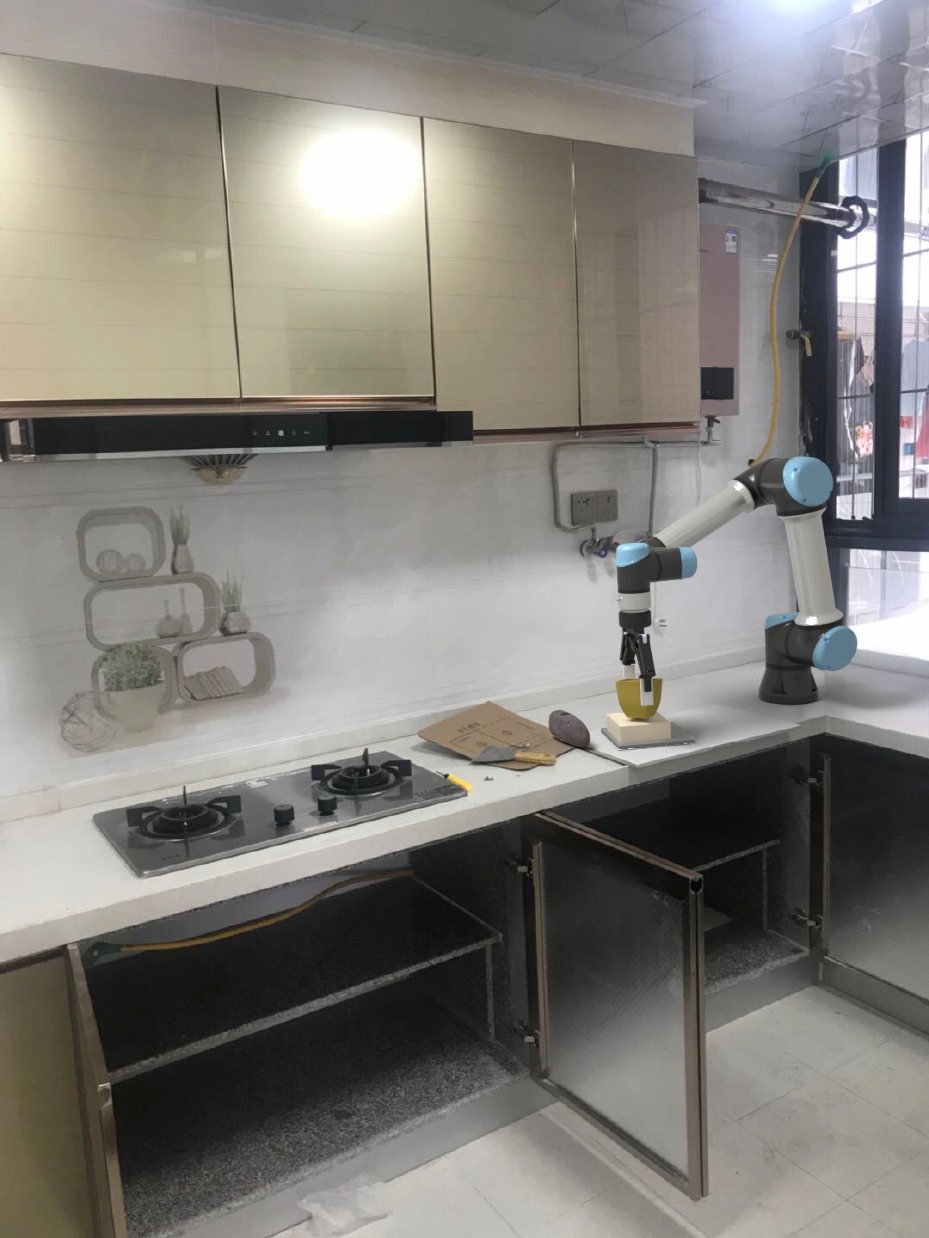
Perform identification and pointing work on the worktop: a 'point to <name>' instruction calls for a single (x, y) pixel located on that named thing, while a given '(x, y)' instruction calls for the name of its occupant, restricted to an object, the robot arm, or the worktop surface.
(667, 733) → the display base
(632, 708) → the flower pot
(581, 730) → the perforated stone tool
